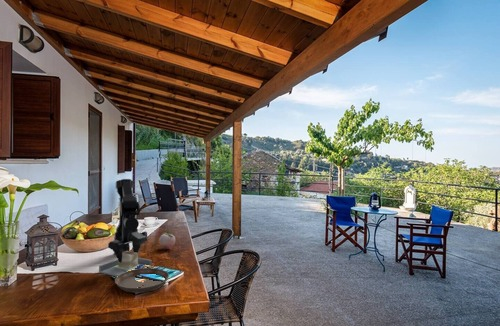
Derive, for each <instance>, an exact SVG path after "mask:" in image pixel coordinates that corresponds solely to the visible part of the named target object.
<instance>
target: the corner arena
mask: <svg viewBox="0 0 500 326" xmlns="http://www.w3.org/2000/svg"><path fill="white" fill-rule="evenodd" d="M141 264H146V265H152V266H153V259H148V258H143V257H138V266H139V265H141ZM98 267H99V268H98V273H99V274H105V275H109V276H113V277H117V276H119V275H121V274H123V273H125V272H124V271H128V270H132V269H135V268H137V266H135V267H133V268H130V269H129V268H124V267H119V266H118V259H117V258H116V259H115V260H112V261H109V262H106V263H103V264H100V265H99V266H98Z"/></svg>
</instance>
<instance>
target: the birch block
mask: <svg viewBox="0 0 500 326" xmlns="http://www.w3.org/2000/svg"><path fill="white" fill-rule="evenodd" d="M138 258H139V252H138V253H136V252H133V251H131V250H130V251H124V252H122V262H121V263H120V262H119V261H118V266H119V267H124V268H129V269H130V268H133V267H135V266H138Z"/></svg>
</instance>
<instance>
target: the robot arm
mask: <svg viewBox="0 0 500 326" xmlns="http://www.w3.org/2000/svg"><path fill="white" fill-rule="evenodd" d="M133 188H134V180H132V179H130V178H122V179H119V180H118V179H117V180H116V181H115V189H116V192H117V194H118V196H119V224H118V225H117V227H116V228H115V232H114V235H113V236H114V237H113V240H111V241H109V242H108V245H107V246H108V247H107V248H108V249H110V250H112V251H113V255H115V257H116V260H117V259H118V261H119V262H120V263H121V262H122V252H124V251H131V250H130V249H131V248H130V247H131V245H130V244H132V252H136V253H138V254H139V251H140V249H141V247H142V245H143V244H145V243H146V241H147V240H148V231H142V232H139V231H138V227H139V225H140V223H139V222H140V221H139V220H138V219H137V216H139V215H140V213H141V206H140V203H139V201H138V200H137V197H135V196H134V195H133Z"/></svg>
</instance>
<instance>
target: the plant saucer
mask: <svg viewBox="0 0 500 326" xmlns="http://www.w3.org/2000/svg"><path fill="white" fill-rule="evenodd" d="M140 274H156V275H160V276H162V277H164V278H165V281H163V282H161V281H153V280H149V279H147V280H146V281H144V283H142V282H138V281H136V280H135V278H136V277H135V276H137V275H140ZM169 278H170V274H169V272H167V271H166V270H163V269H160V268H153V267H149V268H143V269H135V270H131V271H128V272H125V273H123V274H121V275H119V276H118V277H117V276H116V278H115V280H114V282H115V284H116V285H117V287H118V288H119V289H121V290H122V291H124V292H128V293H133V294H134V293H135V294H136V293H137V294H139V293H140V294H141V293H147V292H148V293H149V292H151V291H155V290H158V289H160V288H161V287H162V286H163V285H165V283H166V282H167V281H168V279H169ZM142 285H144V286H142ZM137 287H141V288H137Z"/></svg>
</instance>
